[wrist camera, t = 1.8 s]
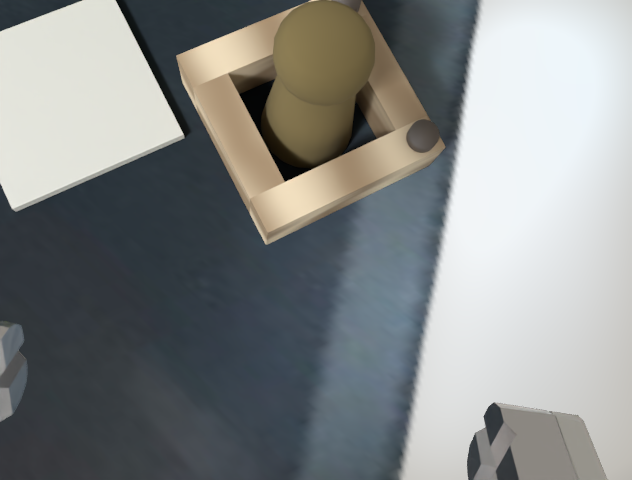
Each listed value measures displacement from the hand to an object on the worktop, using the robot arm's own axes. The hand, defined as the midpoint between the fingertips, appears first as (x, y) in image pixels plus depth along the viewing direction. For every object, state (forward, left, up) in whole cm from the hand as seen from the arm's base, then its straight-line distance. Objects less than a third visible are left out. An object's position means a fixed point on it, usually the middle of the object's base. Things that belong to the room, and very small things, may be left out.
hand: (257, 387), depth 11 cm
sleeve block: (+10, +12, -26) cm, 31 cm away
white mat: (-3, +20, -26) cm, 33 cm away
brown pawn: (+10, +12, -26) cm, 31 cm away
